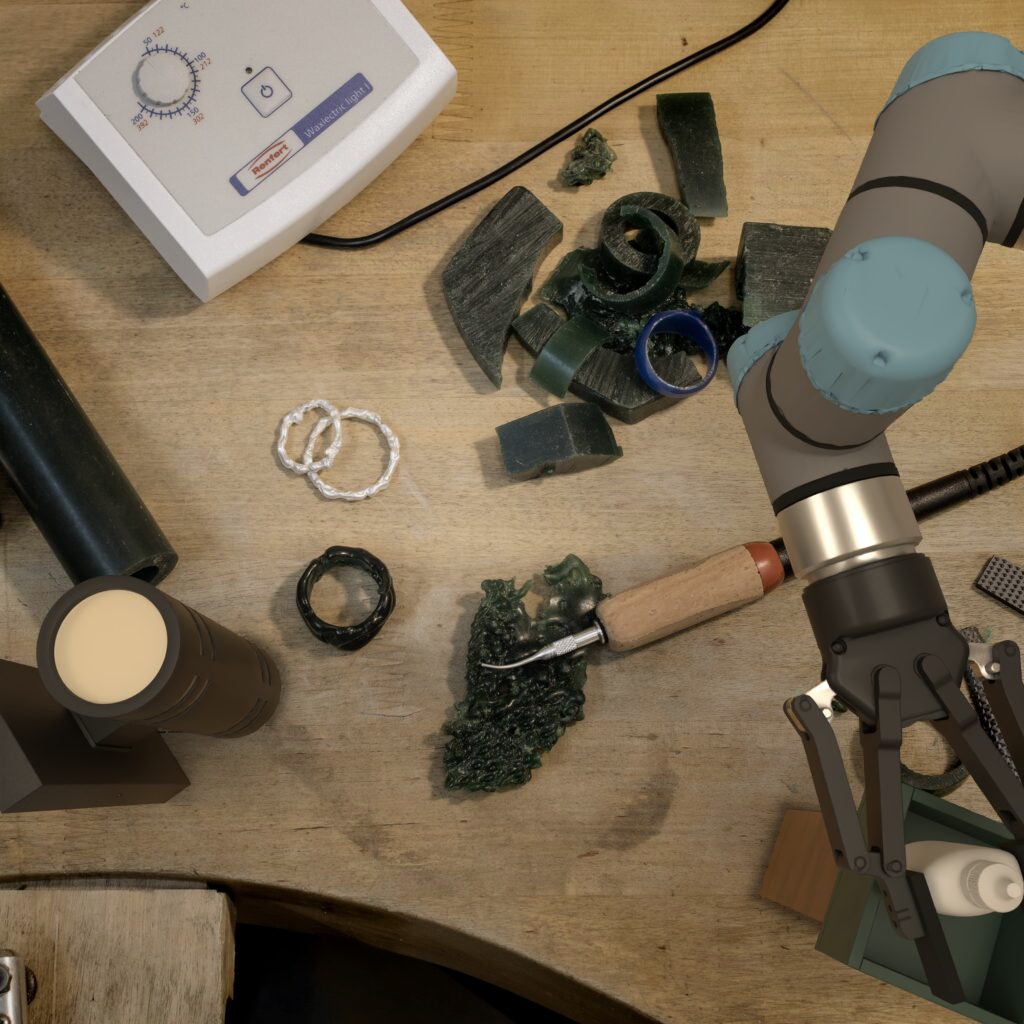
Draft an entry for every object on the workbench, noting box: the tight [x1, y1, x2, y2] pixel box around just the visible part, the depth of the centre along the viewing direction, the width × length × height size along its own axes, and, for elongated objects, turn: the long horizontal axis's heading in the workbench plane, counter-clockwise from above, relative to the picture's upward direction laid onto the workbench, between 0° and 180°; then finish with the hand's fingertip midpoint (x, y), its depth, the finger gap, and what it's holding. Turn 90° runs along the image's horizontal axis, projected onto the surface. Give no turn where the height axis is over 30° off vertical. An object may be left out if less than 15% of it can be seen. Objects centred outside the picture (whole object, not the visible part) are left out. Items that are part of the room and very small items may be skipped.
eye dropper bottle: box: [905, 841, 1024, 917], centre depth 58 cm, size 4×6×12 cm
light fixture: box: [0, 574, 282, 815], centre depth 82 cm, size 10×15×33 cm
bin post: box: [758, 808, 839, 923], centre depth 83 cm, size 8×8×25 cm
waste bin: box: [814, 782, 1024, 1024], centre depth 68 cm, size 12×12×7 cm
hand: (1004, 980), depth 56 cm, fingers closed on eye dropper bottle, 6 cm apart
